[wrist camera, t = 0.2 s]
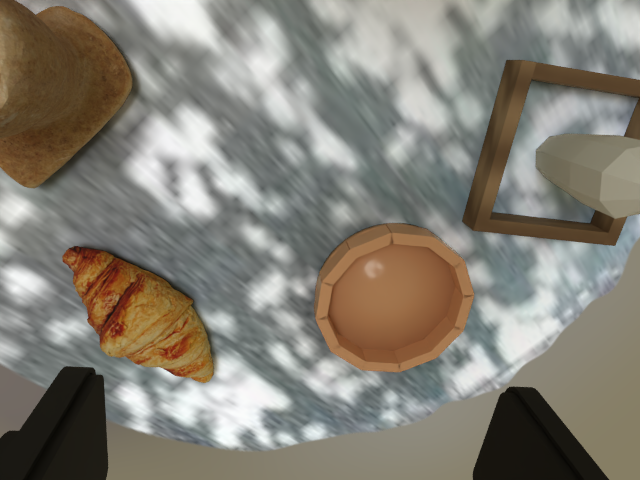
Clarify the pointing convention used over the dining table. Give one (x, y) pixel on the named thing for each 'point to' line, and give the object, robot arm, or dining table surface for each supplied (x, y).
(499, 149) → the square wooden frame
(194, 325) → the croissant
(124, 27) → the dining table surface
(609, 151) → the faceted bottle
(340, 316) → the terracotta dish
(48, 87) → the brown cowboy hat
